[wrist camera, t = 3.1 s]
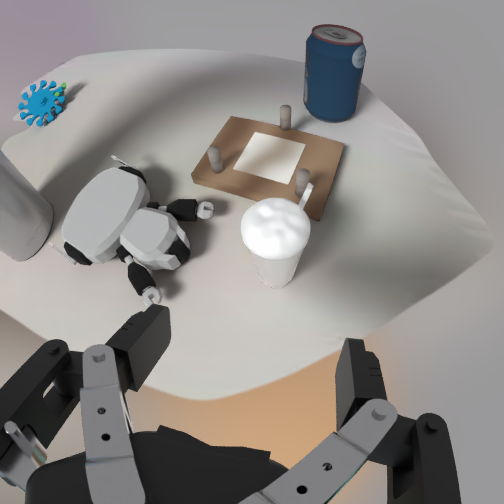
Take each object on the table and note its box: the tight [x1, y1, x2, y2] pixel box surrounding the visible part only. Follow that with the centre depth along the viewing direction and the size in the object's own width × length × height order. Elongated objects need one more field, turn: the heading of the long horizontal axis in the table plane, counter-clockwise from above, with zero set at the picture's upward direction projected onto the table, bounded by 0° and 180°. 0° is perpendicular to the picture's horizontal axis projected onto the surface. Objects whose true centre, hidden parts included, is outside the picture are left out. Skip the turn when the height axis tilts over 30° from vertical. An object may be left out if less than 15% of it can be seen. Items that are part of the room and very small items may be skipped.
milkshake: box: [241, 182, 314, 288], centre depth 22 cm, size 5×5×10 cm
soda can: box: [303, 24, 366, 123], centre depth 30 cm, size 7×7×12 cm
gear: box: [18, 80, 66, 126], centre depth 42 cm, size 11×6×10 cm
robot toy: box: [48, 155, 214, 307], centre depth 28 cm, size 12×4×15 cm
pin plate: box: [191, 105, 344, 221], centre depth 30 cm, size 14×11×4 cm
